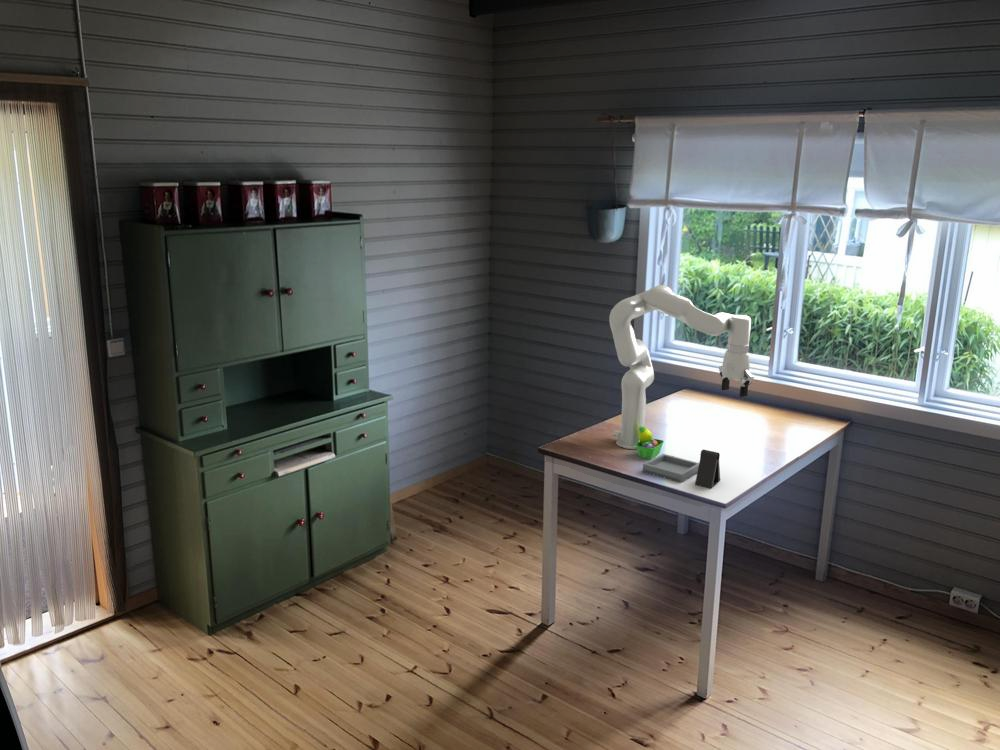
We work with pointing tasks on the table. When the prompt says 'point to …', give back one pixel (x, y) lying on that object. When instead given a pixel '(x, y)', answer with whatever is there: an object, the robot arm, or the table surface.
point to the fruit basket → (648, 444)
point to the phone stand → (708, 469)
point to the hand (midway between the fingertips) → (734, 393)
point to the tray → (671, 467)
